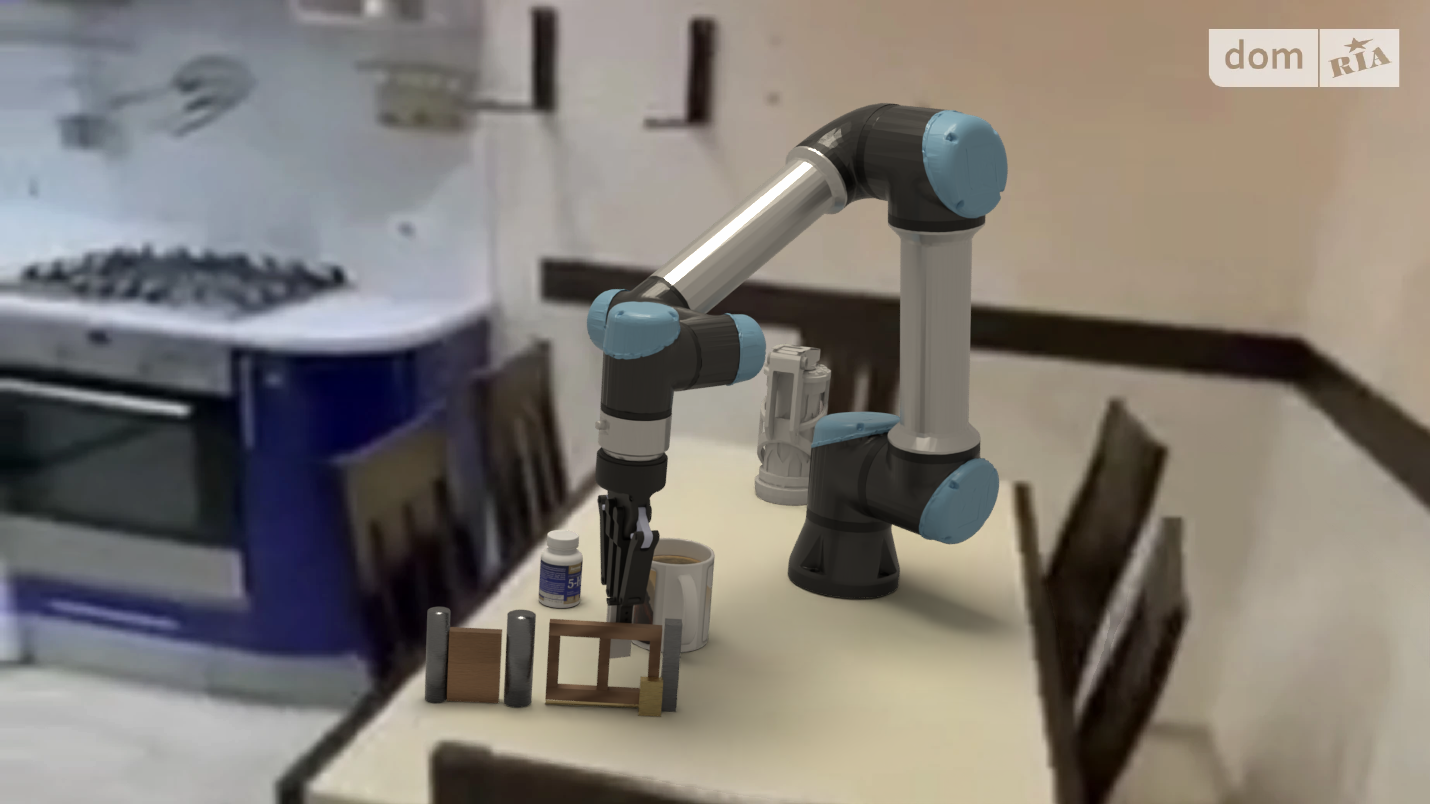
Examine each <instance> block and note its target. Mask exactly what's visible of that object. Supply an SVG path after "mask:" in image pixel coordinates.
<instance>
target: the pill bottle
mask: <svg viewBox="0 0 1430 804" xmlns="http://www.w3.org/2000/svg"><path fill="white" fill-rule="evenodd" d="M579 544H580V535H579V534H578V533H577V532H576V531H573V530H569V529H568V530H567V529H555V530H551V531H549V532H547V536H546V546H547V547H546V548H545V549H543V550H542V552H541V554H540V564H539V565H540V566H539V581H538V583H539V584H538V601H539V602H540V604H542V605H544V606H546V607H550V608H553V609H554V608H555V609H567V608H573V607H575V606H577V605H579V603H580V602H581V593H582V578H583V577H582V574H583V562H584V561H583V560H584V557H583V554H582V551H580V550H579V549H578V548H579Z"/></svg>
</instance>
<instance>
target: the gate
mask: <svg viewBox="0 0 1430 804" xmlns="http://www.w3.org/2000/svg"><path fill="white" fill-rule="evenodd" d="M548 626H549V627H548V644H547V661H546V662H547V663H546V665H547V666H546V679H545V701H546V700H558V701H581V702H599V703H618V704H636V705H639V692H640V687H632V686H631V687H629V686H628V687H627V686H612V685H611V686H609V675H610V674H609V672H610V660H611V659H610V645H611V639H623V640H641V641H650V649H649V650H648V665H647V667H648V668H647V677H660V668H661V665H660V664H661V656H662V654H661V653H662V652H661V642H662V625H652V624H634V623H616V622H606V621H600V620H598V621H595V620H581V619H561V618H559V619H558V618H549V624H548ZM561 637H574V638H588V639H589V638H590V639H599V640H598V658H597V659H598V661H597V673H596V674H597V675H596V676H597V677H596V685H592V684H575V683H574V684H572V683H559V670H560V669H559V667H560V651H561V650H560V648H561Z"/></svg>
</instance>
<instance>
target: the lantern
mask: <svg viewBox="0 0 1430 804" xmlns="http://www.w3.org/2000/svg"><path fill="white" fill-rule="evenodd" d="M771 349H772V350H771V351H769V352H768V353H767V355H766V362H764V365H763V374H764V375H765V376H767V377H766V390H767V391H766V395H765V396H764V397H763V399H762V401H761V404H760V412H759V424H758V436H757V437H758V438H757V445H756V446H757V449H756V455H757V457H758V460H759V461H760V463H761V464H762V465H760V466H759V467H758V474H756V476H755V477H754V490H755V495H756V496H757V497H758V498H759V499H761V500H762V501H764V502H768V503H772V504H775V505H776V504H777V505H783V506H804V505H806V506H807V497H808V484H809V471H810V458H811V444H812V443H813V437H814V430H815V425H816V423H817V422H818V421H819V420H820V419H821V418H822V417H824V416H827V415H828V409H829V395H830V386H831V385H830V384H831V376H832V370H831V369H830V368H828V367H827V366H826V365H824V364H821V363H820V364H819V361H820V359H821V358H820V357H821V348H817V347H810V346H802V345H795V344H789V343H788V344H787V343H785V344H782V343H780V344H776V345H775V346H772V347H771ZM821 403H822V406H823V408H822V410H821V411H820V409H821ZM763 429H764V430H763ZM763 431H764V432H763Z"/></svg>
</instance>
